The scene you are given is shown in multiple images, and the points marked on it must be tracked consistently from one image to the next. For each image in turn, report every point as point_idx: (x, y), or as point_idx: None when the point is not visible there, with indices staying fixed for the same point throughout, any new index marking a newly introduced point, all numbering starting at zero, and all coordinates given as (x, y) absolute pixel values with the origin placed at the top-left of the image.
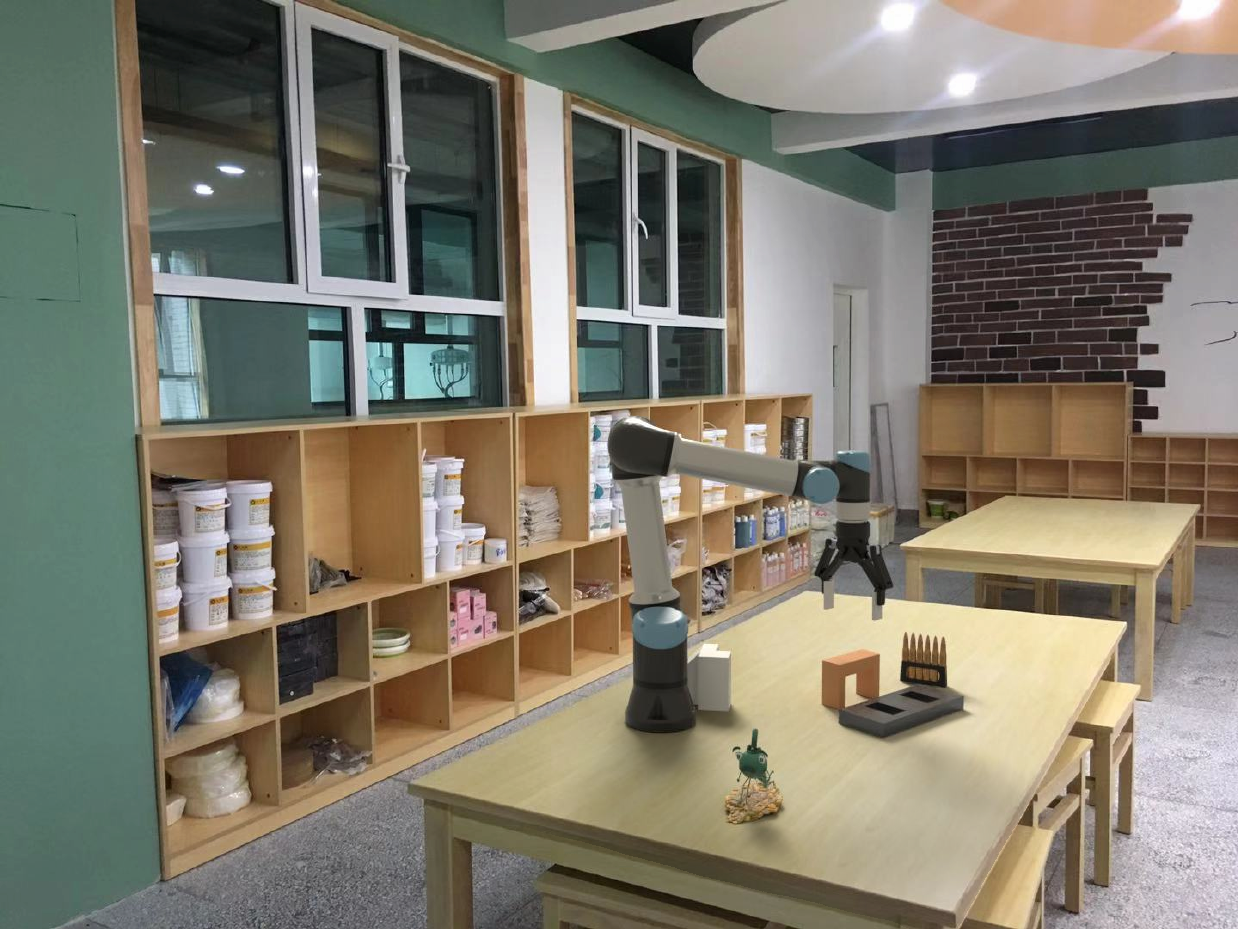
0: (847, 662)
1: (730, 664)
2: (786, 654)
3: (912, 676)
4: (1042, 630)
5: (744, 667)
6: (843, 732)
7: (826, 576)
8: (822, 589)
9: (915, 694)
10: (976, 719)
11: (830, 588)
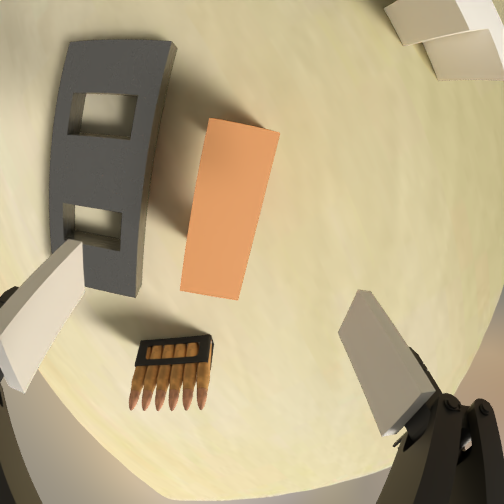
0: (203, 158)
1: (447, 24)
2: (413, 336)
3: (190, 345)
4: (195, 486)
5: (454, 246)
6: (149, 18)
7: (434, 422)
8: (418, 362)
9: (113, 247)
10: (32, 236)
11: (382, 385)
